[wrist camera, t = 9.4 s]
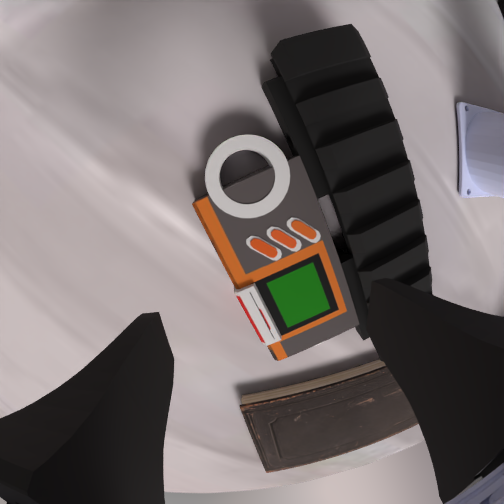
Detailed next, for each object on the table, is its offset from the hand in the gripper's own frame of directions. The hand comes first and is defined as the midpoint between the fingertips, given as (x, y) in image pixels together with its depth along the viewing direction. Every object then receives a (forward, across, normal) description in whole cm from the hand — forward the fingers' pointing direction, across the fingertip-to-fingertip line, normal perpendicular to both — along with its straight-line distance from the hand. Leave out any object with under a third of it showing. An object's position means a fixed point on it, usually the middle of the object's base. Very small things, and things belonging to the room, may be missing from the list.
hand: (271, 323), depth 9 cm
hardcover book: (+11, -10, +22) cm, 26 cm away
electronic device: (+10, -2, +1) cm, 11 cm away
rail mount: (+10, -8, -1) cm, 13 cm away
